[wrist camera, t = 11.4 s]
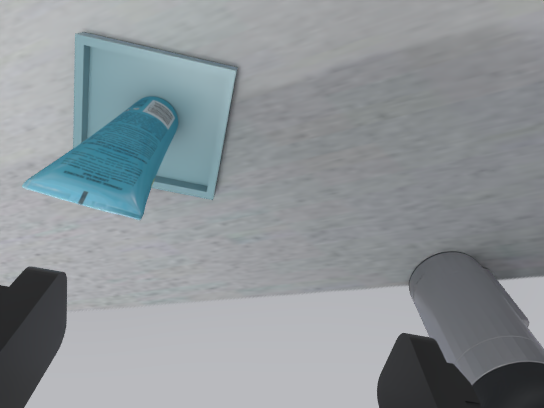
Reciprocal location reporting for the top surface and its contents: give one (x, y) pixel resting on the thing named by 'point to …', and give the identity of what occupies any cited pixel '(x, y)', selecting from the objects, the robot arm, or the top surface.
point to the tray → (166, 85)
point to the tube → (114, 161)
